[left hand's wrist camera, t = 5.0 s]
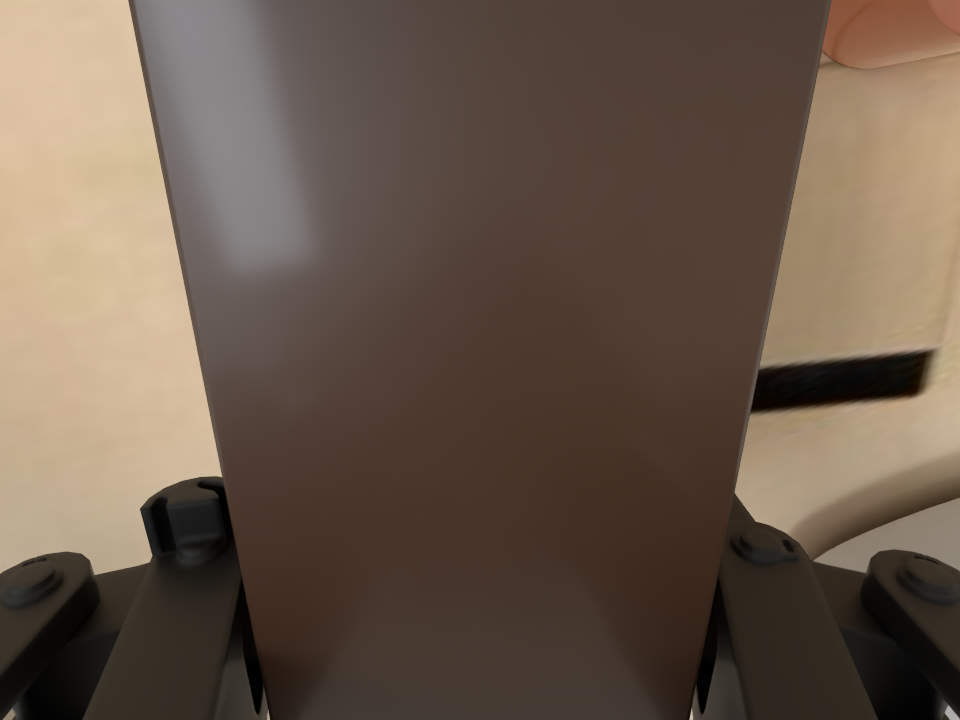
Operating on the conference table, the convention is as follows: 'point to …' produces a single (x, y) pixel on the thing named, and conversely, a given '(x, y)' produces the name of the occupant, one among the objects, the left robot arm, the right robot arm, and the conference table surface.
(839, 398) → the conference table surface
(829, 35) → the salmon pink cylinder
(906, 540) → the projector
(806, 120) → the walnut beam
